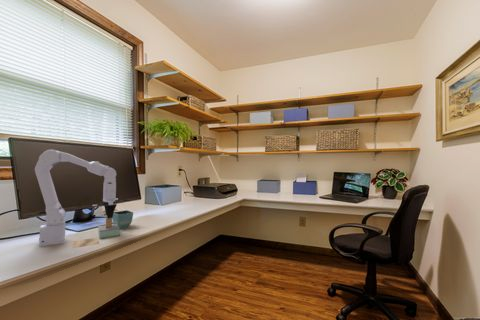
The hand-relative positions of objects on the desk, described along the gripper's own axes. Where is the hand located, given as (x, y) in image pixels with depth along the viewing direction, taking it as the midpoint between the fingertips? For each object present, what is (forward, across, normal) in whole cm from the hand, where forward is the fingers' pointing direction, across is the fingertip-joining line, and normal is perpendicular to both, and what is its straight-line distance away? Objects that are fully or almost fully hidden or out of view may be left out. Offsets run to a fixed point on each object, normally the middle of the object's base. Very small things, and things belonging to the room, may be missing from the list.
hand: (109, 216), depth 119 cm
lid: (+6, 0, 0) cm, 6 cm away
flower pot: (+10, +11, -8) cm, 17 cm away
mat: (+10, -7, +10) cm, 16 cm away
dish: (+10, 0, 0) cm, 10 cm away
